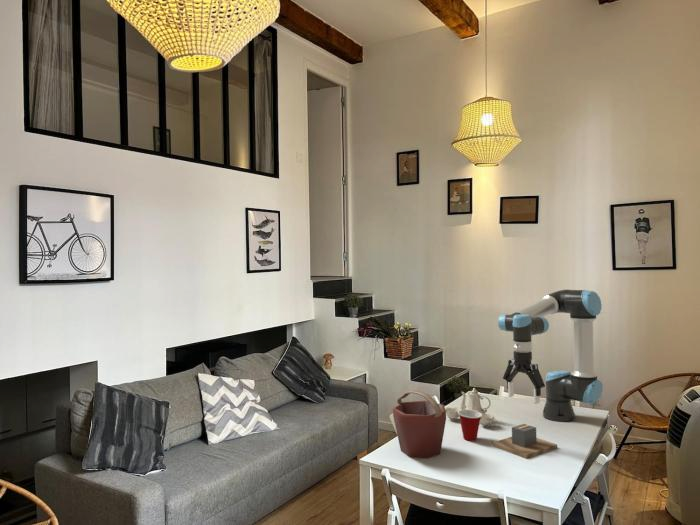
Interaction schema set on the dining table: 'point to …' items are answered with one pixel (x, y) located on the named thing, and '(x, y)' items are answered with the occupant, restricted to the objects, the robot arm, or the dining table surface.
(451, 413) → the chinaware
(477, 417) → the plastic cup
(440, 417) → the bucket
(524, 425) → the grey box
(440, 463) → the dining table surface
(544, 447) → the hub base
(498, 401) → the dining table surface
